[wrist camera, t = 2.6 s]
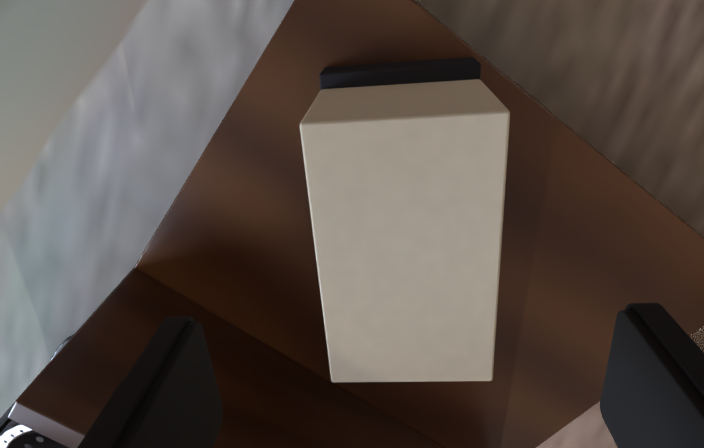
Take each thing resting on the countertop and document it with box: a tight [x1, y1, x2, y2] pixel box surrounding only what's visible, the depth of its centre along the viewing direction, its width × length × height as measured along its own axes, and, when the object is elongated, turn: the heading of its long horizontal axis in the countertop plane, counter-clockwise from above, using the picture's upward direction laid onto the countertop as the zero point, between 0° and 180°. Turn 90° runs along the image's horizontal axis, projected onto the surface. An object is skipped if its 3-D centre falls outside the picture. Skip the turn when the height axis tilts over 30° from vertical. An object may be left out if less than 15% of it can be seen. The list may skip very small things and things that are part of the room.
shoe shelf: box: [8, 0, 704, 448], centre depth 20 cm, size 17×22×12 cm
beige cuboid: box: [300, 57, 510, 382], centre depth 18 cm, size 12×5×6 cm, turn 4°
